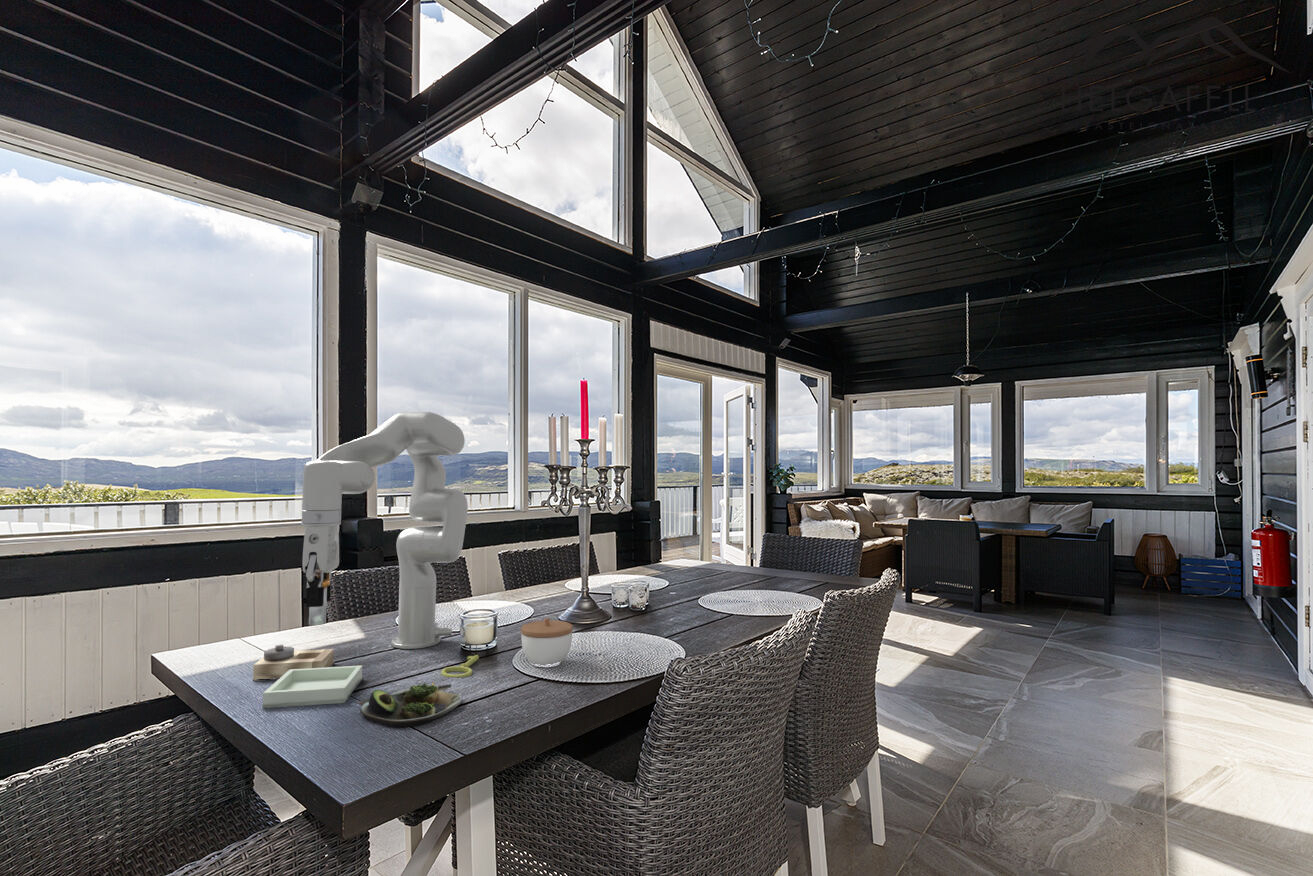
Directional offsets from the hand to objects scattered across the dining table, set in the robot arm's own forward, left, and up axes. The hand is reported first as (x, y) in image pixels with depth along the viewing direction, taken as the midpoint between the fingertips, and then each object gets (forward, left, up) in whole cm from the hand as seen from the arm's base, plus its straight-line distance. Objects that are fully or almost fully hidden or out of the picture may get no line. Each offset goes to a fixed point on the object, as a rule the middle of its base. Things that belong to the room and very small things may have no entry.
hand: (318, 603), depth 135 cm
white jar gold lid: (0, 0, -4) cm, 4 cm away
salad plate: (-21, +14, -19) cm, 32 cm away
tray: (0, 0, -19) cm, 19 cm away
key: (-29, -10, -20) cm, 37 cm away
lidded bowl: (-49, -11, -19) cm, 54 cm away
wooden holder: (+9, -16, -19) cm, 26 cm away
